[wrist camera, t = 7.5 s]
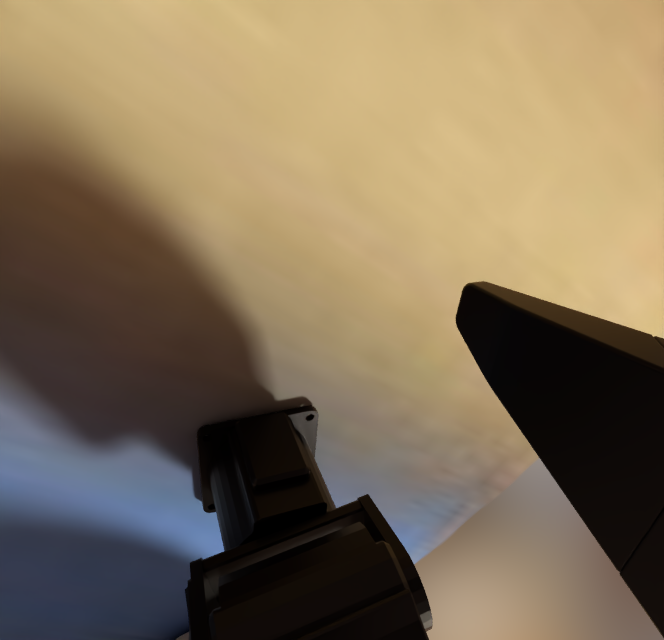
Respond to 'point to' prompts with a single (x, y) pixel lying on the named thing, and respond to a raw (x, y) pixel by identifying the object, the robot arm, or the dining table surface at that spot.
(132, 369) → the dining table surface
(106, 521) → the dining table surface
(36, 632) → the dining table surface
